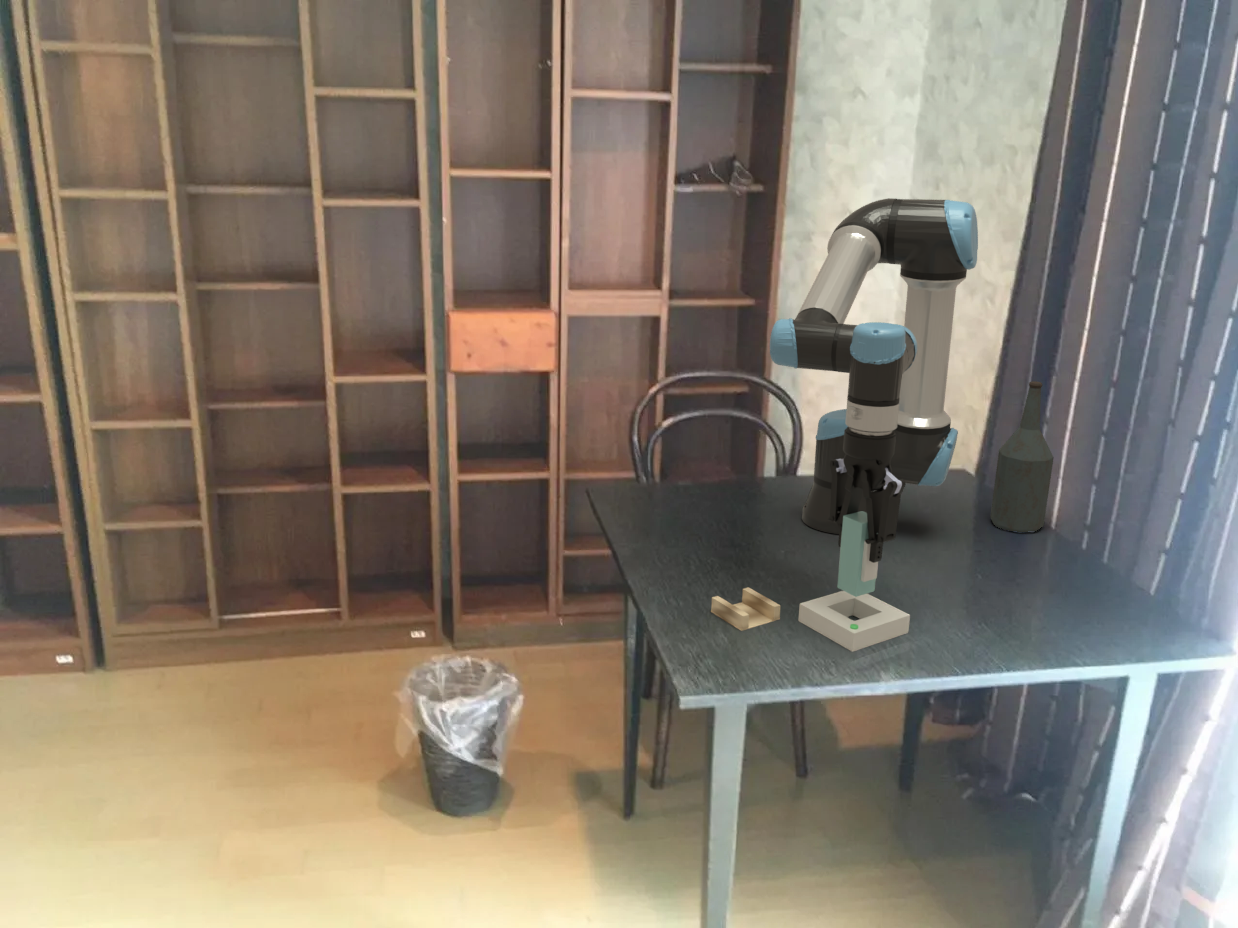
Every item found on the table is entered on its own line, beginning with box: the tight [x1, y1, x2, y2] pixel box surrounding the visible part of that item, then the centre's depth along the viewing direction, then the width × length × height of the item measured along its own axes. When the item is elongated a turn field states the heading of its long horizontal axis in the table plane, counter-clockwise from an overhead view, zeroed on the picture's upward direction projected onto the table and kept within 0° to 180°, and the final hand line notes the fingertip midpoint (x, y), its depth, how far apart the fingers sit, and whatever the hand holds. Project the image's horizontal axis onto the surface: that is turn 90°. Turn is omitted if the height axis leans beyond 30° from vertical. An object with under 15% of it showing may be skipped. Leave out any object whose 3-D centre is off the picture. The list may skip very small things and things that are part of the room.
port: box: [798, 590, 911, 653], centre depth 161 cm, size 12×12×5 cm
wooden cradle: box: [710, 587, 781, 632], centre depth 165 cm, size 8×8×4 cm
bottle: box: [989, 381, 1054, 532], centre depth 205 cm, size 10×10×30 cm
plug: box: [836, 511, 878, 597], centre depth 157 cm, size 4×4×12 cm
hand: (857, 573), depth 159 cm, fingers closed on plug, 4 cm apart
